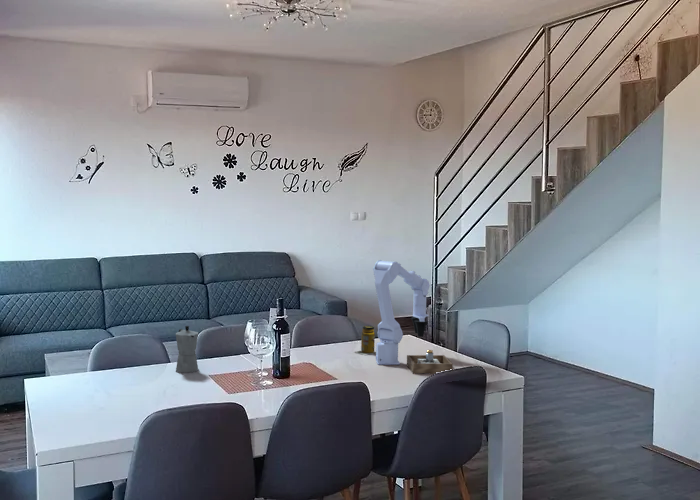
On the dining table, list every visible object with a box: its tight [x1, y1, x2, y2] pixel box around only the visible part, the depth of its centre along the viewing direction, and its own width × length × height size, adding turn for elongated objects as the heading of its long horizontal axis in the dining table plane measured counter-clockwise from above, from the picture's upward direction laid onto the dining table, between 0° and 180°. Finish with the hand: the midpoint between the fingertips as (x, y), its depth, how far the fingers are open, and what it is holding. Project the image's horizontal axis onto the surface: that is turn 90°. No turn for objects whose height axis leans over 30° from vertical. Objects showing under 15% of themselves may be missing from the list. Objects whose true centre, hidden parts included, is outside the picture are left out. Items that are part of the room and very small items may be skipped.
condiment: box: [354, 325, 376, 356], centre depth 320 cm, size 7×8×12 cm
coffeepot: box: [175, 325, 199, 374], centre depth 282 cm, size 15×9×18 cm, turn 33°
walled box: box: [406, 354, 454, 375], centre depth 292 cm, size 16×16×4 cm
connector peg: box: [425, 349, 434, 363], centre depth 292 cm, size 3×3×7 cm
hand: (418, 334), depth 316 cm, fingers open, 7 cm apart
